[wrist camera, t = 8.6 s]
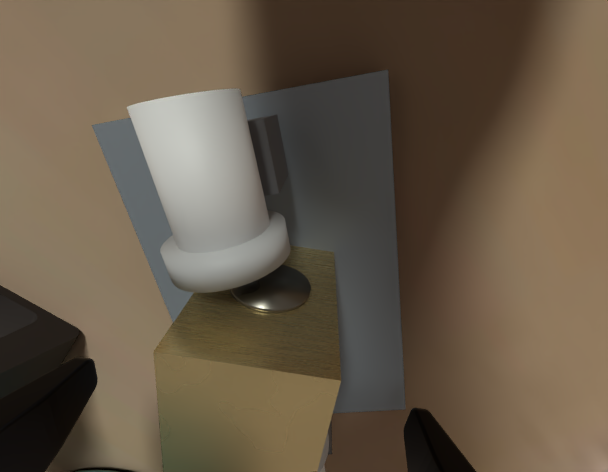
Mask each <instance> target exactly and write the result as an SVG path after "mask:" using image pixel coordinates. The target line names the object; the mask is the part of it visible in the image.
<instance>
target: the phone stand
mask: <svg viewBox="0 0 608 472" xmlns="http://www.w3.org/2000/svg"><path fill="white" fill-rule="evenodd" d="M78 334H79V330H78V328H76V327H74V326H73V325H71V324H69V323H67V322H65V321H64V320H62V319H60V318H58V317H56V316H55V315H53V314H51V313H49V312H47V311H46V310H44V309H42V308H40V307H38V306H37V305H35V304H33V303H31V302H29V301H28V300H26V299H24V298H22V297H20V296H19V295H17V294H15V293H13V292H11V291H10V290H8V289H6V288H4V287H2V286H1V285H0V398H2V397H4V396H6V395H8V394H10V393H11V392H13V391H15V390H17V389H19V388H21V387H22V386H24V385H26V384H28V383H30V382H32V381H33V380H35V379H37V378H39V377H41V376H43V375H44V374H46V373H48V372H50V371H52V370H54V369H55V368H57V367H59V366H60V365H61V363H62V362H63V360H64V358H65V356H66V355H67V353H68V351H69V350H70V348H71V346H72V345H73V343H74V341H75V340H76V338H77V336H78Z"/></svg>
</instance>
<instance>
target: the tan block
mask: <svg viewBox="0 0 608 472" xmlns="http://www.w3.org/2000/svg"><path fill="white" fill-rule="evenodd" d="M290 247H291V249H290V254H289V256H288V258H287V259H286V260H285V261H284V263H283V264H281V265H280V266H279V267H278V268H277V269H275V270H274V271H273V272H271V273H269V274H268V275H266V276H264V277H262V278H260V279H258V280H256V281H253V282H251V283H248V284H246V285H243V286H240V287H236V288H233V289H228V290H224V291H218V292H208V293H193V295H192V296H191V298H190V299H189V301H188V302H187V303H186V305H185V306H184V308H183V309H182V311H181V312H180V314H179V315H178V317H177V318H176V320H175V321H174V323H173V324H172V325H171V327H170V328H169V330H168V331H167V333H166V334H165V336H164V337H163V339H162V340H161V342H160V343H159V345H158V346H157V347H156V349H155V350H154V364H155V376H156V388H157V400H158V413H159V425H160V437H161V449H162V461H163V472H317V471H318V467H319V463H320V459H321V456H322V452H323V448H324V444H325V440H326V437H327V433H328V429H329V425H330V421H331V417H332V414H333V410H334V406H335V402H336V398H337V395H338V391H339V387H340V383H341V369H340V351H339V333H338V315H337V297H336V279H335V261H334V252H330V251H323V250H317V249H310V248H304V247H297V246H291V245H290Z"/></svg>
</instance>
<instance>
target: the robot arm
mask: <svg viewBox="0 0 608 472" xmlns="http://www.w3.org/2000/svg"><path fill="white" fill-rule="evenodd" d="M96 385H97V374H96V368H95V363H94V361H93V360H92V359H90V358H84V357H76V358H74V359H72V360H70V361H68V362H66V363H65V364H63V365H61V366H59V367H57V368H55V369H54V370H52V371H50V372H48V373H46V374H44V375H43V376H41V377H39V378H37V379H35V380H33V381H32V382H30V383H28V384H26V385H24V386H22V387H21V388H19V389H17V390H15V391H13V392H11V393H10V394H8V395H6V396H4V397H2V398H0V472H45V471H46V469H47V468H48V466H49V465H50V463H51V462H52V460H53V459H54V458H55V456H56V455H57V453H58V452H59V450H60V448H61V447H62V445H63V444H64V442H65V440H66V439H67V437H68V435H69V434H70V432H71V430H72V428H73V427H74V425H75V423H76V421H77V420H78V418H79V416H80V414H81V412H82V411H83V409H84V407H85V405H86V404H87V402H88V400H89V398H90V397H91V395H92V393H93V391H94V390H95V388H96ZM404 441H405V450H406V459H407V468H408V472H476V471H475V469H474V468H473V467H472V466H471V464H470V463H469V462H468V460H467V459H466V458H465V457H464V455H463V454H462V453H461V451H460V450H459V449H458V448H457V446H456V445H455V444H454V442H453V441H452V440H451V439H450V437H449V436H448V435H447V433H446V432H445V431H444V430H443V428H442V427H441V426H440V425H439V423H438V422H437V421H436V419H435V418H434V417H433V416H432V414H431V413H430V412H429V411H428V410H426V409H420V408H413V409H412V410H411V412H410V414H409V416H408V419H407V421H406V424H405V427H404Z"/></svg>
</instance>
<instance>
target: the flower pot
mask: <svg viewBox="0 0 608 472" xmlns="http://www.w3.org/2000/svg"><path fill="white" fill-rule="evenodd" d="M77 472H118V471H110V470H85V471H77Z"/></svg>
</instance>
